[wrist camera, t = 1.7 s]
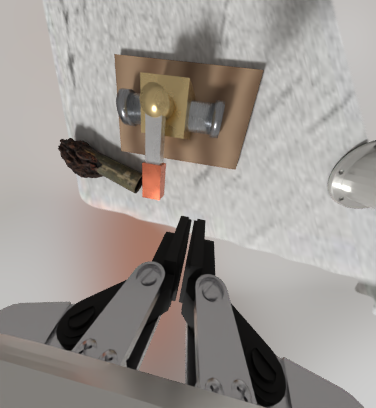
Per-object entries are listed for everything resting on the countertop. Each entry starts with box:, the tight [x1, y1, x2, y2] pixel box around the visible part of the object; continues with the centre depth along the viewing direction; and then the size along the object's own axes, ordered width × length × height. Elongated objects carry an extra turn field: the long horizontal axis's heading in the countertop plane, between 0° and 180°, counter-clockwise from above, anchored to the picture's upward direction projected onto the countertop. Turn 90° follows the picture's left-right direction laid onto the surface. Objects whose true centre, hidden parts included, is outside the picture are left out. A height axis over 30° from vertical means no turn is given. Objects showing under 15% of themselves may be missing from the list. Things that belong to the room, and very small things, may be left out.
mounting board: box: [114, 54, 264, 169], centre depth 25 cm, size 24×15×2 cm, turn 82°
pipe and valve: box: [116, 72, 225, 140], centre depth 22 cm, size 16×7×7 cm, turn 82°
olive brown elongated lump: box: [58, 138, 142, 193], centre depth 30 cm, size 18×7×6 cm, turn 62°
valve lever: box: [139, 82, 174, 200], centre depth 19 cm, size 14×3×3 cm, turn 172°
